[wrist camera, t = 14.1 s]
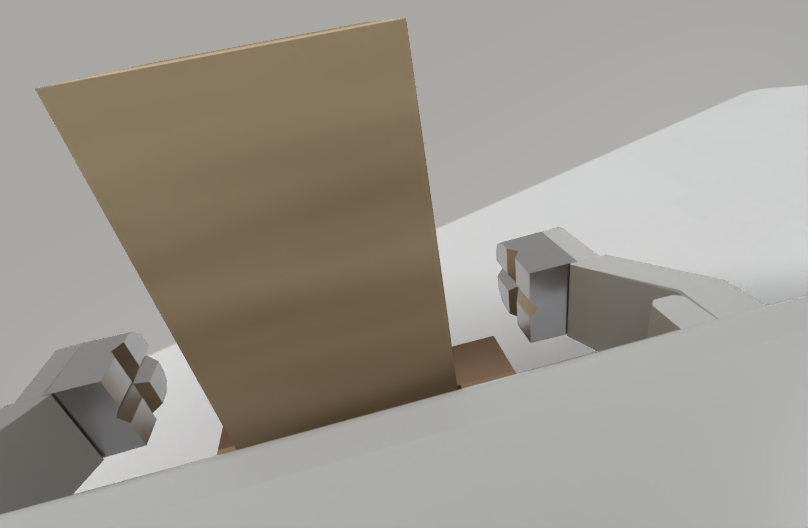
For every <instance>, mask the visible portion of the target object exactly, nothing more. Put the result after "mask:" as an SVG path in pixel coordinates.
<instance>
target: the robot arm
mask: <svg viewBox="0 0 808 528" xmlns="http://www.w3.org/2000/svg"><path fill="white" fill-rule="evenodd" d="M496 257H497V261H498V263H499V264H500V265H501V266H502V270H501V272H500V273H499V275H498V285H499V291H500V295H501V298H502V301H503V303H504V305H505V307H506V309H507V310H508V312H509V313H510V314H513V315H515V316H517V319H518V326H519V327H520V329H521V330H522V331H523V333H524V334H525V335H526V337H527V338H528V340H529V341H530V342H531V343H532V342H536V341H540V340H545V339H549V338H553V337H557V336H561V335H566V334H567V336H569V337H571V338H573V339H575V340H577V341H579V342H581V343H583V344H585V345H587V346H589V347H591V348H593V349H595V350H597V351H599V352H595V353H591V354H588V355H584V356H580V357H577V358H573V359H569V360H566V361H562V362H558V363H555V364H551V365H547V366H544V367H540V368H536V369H533V370H529V371H525V372H522V373H518V374H514V375H511V376H507V377H503V378H500V379H496V380H492V381H489V382H485V383H481V384H478V385H474V386H470V387H467V388H463V389H459V390H456V391H452V392H448V393H445V394H441V395H437V396H434V397H430V398H426V399H423V400H419V401H415V402H412V403H408V404H404V405H401V406H397V407H393V408H390V409H386V410H382V411H379V412H375V413H371V414H368V415H364V416H360V417H357V418H353V419H349V420H346V421H342V422H338V423H335V424H331V425H327V426H323V427H320V428H316V429H312V430H309V431H305V432H301V433H298V434H294V435H290V436H287V437H283V438H279V439H276V440H272V441H268V442H265V443H261V444H257V445H254V446H250V447H246V448H243V449H239V450H235V451H232V452H228V453H224V454H221V455H217V456H213V457H210V458H206V459H202V460H199V461H195V462H191V463H188V464H184V465H180V466H177V467H173V468H169V469H165V470H162V471H158V472H154V473H151V474H147V475H143V476H140V477H136V478H132V479H129V480H125V481H121V482H118V483H114V484H110V485H107V486H103V487H99V488H96V489H92V490H88V491H85V492H81V493H77V494H74V492H75V491H76V490H77V489H78V488H79V487H80V486H81V485H82V483H83V482H84V481H85V480H86V479H87V478H88V477H89V476H90V475H91V473H92V472H93V471H94V470H95V469H96V468H97V467H98V466H99V465H100V463H101V462H102V461H103V460H104V459H103V458H104V457H108V456H111V455H115V454H118V453H121V452H125V451H128V450H132V449H135V448H138V447H142V446H145V445H147V442H148V440H149V437H150V435H151V432H152V430H153V427H154V425H155V422H156V420H157V419H156V418H155V416H154V415H153V412H154V411H155V410H156V409H157V408H158V407H159V406H160V405H161V404H162V403H163V401H164V399H165V396H166V393H167V380H166V377H165V373H164V370H163V368H162V367H161V365H160V363H159V362H158V361H157V360H155V359H153V358H151V357H149V356H147V352H148V349H149V345H148V344H147V342H146V341H145V339H144V338H143V336H142V335H141V334H139V333H136V332H130V333H126V334H121V335H117V336H112V337H108V338H103V339H99V340H95V341H91V342H87V343H80V344H76V345H73V346H69V347H65V348H62V349H59V350H57V351H55V353H54V354H53V355H52V356H51V358H50V359H49V360H48V361H47V363H46V364H45V365H44V366H43V368H42V369H41V370H40V372H39V373H38V374H37V375H36V376H35V378H34V379H33V381H32V382H31V383H30V384H29V385H28V387H27V388H26V389H25V390H24V392H23V393H22V394H21V395H20V397H19V398H18V399H17V400H16V402H15V403H14V404H10V405H7V406H4V407H3V408H1V409H0V528H808V295H805V296H801V297H798V298H794V299H790V300H787V301H783V302H779V303H776V304H772V305H768V306H766V305H765V304H763V303H761V302H760V301H758V300H756V299H755V298H753V297H751V296H750V295H748V294H746V293H745V292H743V291H742V290H740V289H738V288H737V287H735V286H733V285H732V284H730V283H728V282H727V281H725V280H722V279H717V278H712V277H708V276H703V275H698V274H694V273H689V272H684V271H680V270H675V269H670V268H666V267H661V266H656V265H652V264H647V263H642V262H638V261H633V260H628V259H624V258H619V257H614V256H610V255H603V256H598V255H597V254H596V253H594V252H593V251H592V250H590V249H589V248H588V247H587V246H585V245H584V244H583V243H581V242H580V241H579V240H578V239H576V238H575V237H574V236H572V235H571V234H570V233H568V232H567V231H566V230H565V229H563V228H560V227H557V228H553V229H550V230H546V231H543V232H539V233H535V234H531V235H528V236H524V237H520V238H516V239H513V240H509V241H505V242H502V243H499V244H497V249H496ZM73 494H74V495H73Z"/></svg>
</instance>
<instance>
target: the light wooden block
mask: <svg viewBox="0 0 808 528" xmlns="http://www.w3.org/2000/svg"><path fill="white" fill-rule="evenodd" d="M35 90H36V92H37V93H38V95H39V97H40V99H41V100H42V102H43V104H44V106H45V107H46V110H47V111H48V113H49V115H50V117H51V118H52V120H53V122H54V124H55V125H56V127H57V129H58V131H59V133H60V134H61V136H62V138H63V140H64V142H65V143H66V145H67V147H68V149H69V151H70V152H71V154H72V156H73V158H74V159H75V161H76V163H77V165H78V166H79V169H80V170H81V172H82V174H83V176H84V177H85V179H86V181H87V183H88V185H89V187H90V188H91V190H92V192H93V194H94V196H95V197H96V199H97V201H98V203H99V204H100V206H101V208H102V210H103V211H104V213H105V215H106V217H107V219H108V221H109V222H110V224H111V226H112V228H113V230H114V231H115V233H116V235H117V237H118V239H119V240H120V242H121V244H122V246H123V247H124V249H125V251H126V253H127V255H128V256H129V258H130V260H131V262H132V264H133V265H134V267H135V269H136V270H137V272H138V274H139V276H140V278H141V280H142V281H143V283H144V285H145V287H146V289H147V290H148V292H149V294H150V296H151V297H152V299H153V301H154V303H155V305H156V307H157V308H158V310H159V312H160V314H161V316H162V317H163V319H164V321H165V323H166V324H167V326H168V328H169V330H170V332H171V333H172V335H173V337H174V339H175V341H176V342H177V344H178V346H179V348H180V350H181V351H182V353H183V355H184V357H185V359H186V360H187V362H188V364H189V366H190V368H191V369H192V371H193V373H194V375H195V376H196V378H197V380H198V382H199V384H200V385H201V387H202V389H203V391H204V393H205V394H206V396H207V398H208V400H209V402H210V403H211V405H212V407H213V409H214V411H215V412H216V414H217V416H218V418H219V419H220V421H221V423H222V425H223V427H224V428H225V430H226V432H227V434H228V436H229V437H230V439H231V441H232V443H233V445H234V446H235V448H236V450H239V449H243V448H246V447H250V446H254V445H257V444H261V443H265V442H268V441H272V440H276V439H279V438H283V437H287V436H290V435H294V434H298V433H301V432H305V431H309V430H312V429H316V428H320V427H323V426H327V425H331V424H335V423H338V422H342V421H346V420H349V419H353V418H357V417H360V416H364V415H368V414H371V413H375V412H379V411H382V410H386V409H390V408H393V407H397V406H401V405H404V404H408V403H412V402H415V401H419V400H423V399H426V398H430V397H434V396H437V395H441V394H445V393H448V392H452V391H456V390H458V388H457V380H456V373H455V366H454V359H453V352H452V345H451V337H450V330H449V323H448V316H447V309H446V302H445V294H444V287H443V280H442V273H441V266H440V259H439V251H438V244H437V237H436V230H435V224H434V216H433V208H432V201H431V194H430V187H429V180H428V173H427V165H426V158H425V152H424V144H423V137H422V130H421V123H420V116H419V109H418V101H417V95H416V87H415V79H414V72H413V65H412V58H411V51H410V44H409V36H408V29H407V22H406V18H403V19H393V20H384V21H375V22H366V23H360V24H354V25H349V26H344V27H339V28H333V29H329V30H323V31H318V32H312V33H307V34H302V35H296V36H291V37H286V38H281V39H276V40H270V41H265V42H260V43H255V44H249V45H244V46H239V47H233V48H228V49H223V50H218V51H213V52H207V53H202V54H196V55H191V56H186V57H181V58H175V59H170V60H165V61H160V62H155V63H150V64H145V65H141V66H136V67H132V68H127V69H123V70H118V71H114V72H109V73H105V74H100V75H95V76H91V77H87V78H82V79H77V80H73V81H69V82H64V83H59V84H55V85H50V86H46V87H41V88H37V89H35Z"/></svg>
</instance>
